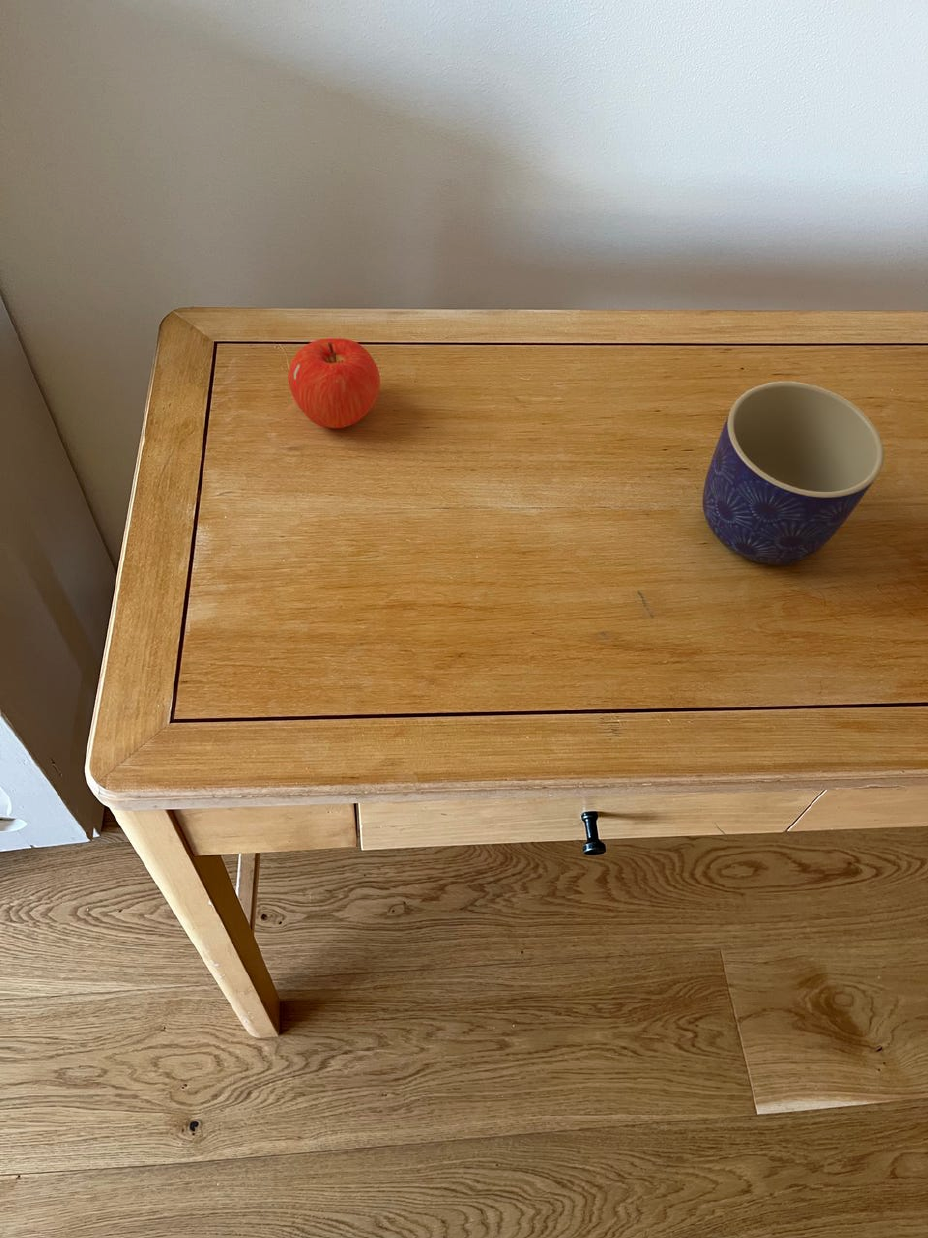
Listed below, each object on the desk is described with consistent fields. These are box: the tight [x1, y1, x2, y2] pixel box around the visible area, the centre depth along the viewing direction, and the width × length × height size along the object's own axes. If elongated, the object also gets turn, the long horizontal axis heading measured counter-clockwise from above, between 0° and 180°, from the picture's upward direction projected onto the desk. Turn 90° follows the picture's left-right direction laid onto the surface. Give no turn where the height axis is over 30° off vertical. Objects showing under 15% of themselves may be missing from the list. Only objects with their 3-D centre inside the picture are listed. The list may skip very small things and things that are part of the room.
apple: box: [287, 337, 381, 429], centre depth 82 cm, size 8×8×8 cm
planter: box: [702, 381, 885, 565], centre depth 77 cm, size 12×12×11 cm
